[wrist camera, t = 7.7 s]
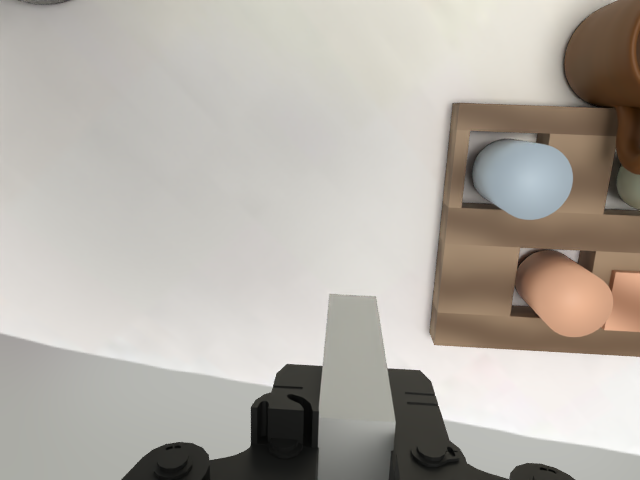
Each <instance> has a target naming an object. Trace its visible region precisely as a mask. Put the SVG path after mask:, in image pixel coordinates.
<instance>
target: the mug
mask: <svg viewBox="0 0 640 480" xmlns="http://www.w3.org/2000/svg"><path fill="white" fill-rule="evenodd" d="M565 73H566V77H567V80H568V82H569V85H570V86H571V88H572V90H573V91H574V92H575V93H576V94H577V95H578V96H579V97H580V98H581V99H583V100H584V101H586V102H588V103H590V104H592V105H595V106H599V107H605V108H615V109H616V112H617V121H618V128H617V134H616V151H617V155H618V159H619V161H620V163H621V165H622V166H623V167H624V168H625V169H626V170H627V171H629V172H631V173H633V174H637V175H640V0H618V1H616V2H613V3H611V4H609V5H606V6H604V7H602V8H600V9H599V10H597V11H595V12H594V13H592V14H591V15H590V16H588V17H587V18H586V19H585V20H584V21H583V22H582V23H581V24H580V25H579V26H578V28H577V29H576V30H575V32H574V33H573V35H572V37H571V39H570V41H569V43H568V46H567V49H566V53H565Z"/></svg>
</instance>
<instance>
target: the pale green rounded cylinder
mask: <svg viewBox="0 0 640 480" xmlns="http://www.w3.org/2000/svg"><path fill="white" fill-rule="evenodd" d="M617 190H618V193H619V195H620V197H621V198H622V200H623V201H624V202H625V203H626V204H628V205H629V206H631V207H633V208H636V209H639V210H640V175H637V174H633V173H631V172H629V171H627V170H626V169H625V168H624V167H623V166H622V165H621V167H620V169H619V171H618V175H617Z"/></svg>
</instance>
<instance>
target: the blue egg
mask: <svg viewBox="0 0 640 480" xmlns="http://www.w3.org/2000/svg"><path fill="white" fill-rule="evenodd" d="M472 180H473V184H474V186H475V188H476V190H477V191H478V193H479V194H480V195H481V196H482V197H484V198H485V199H486V200H488V201H490V202H491V203H493V204H494V205H496V206H498V207H499V208H501V209H502V210H504V211H506V212H507V213H509V214H510V215H512V216H514V217H517V218H520V219H525V220H535V219H540V218H544V217H546V216H548V215H550V214H552V213H554V212H555V211H556V210H558V209H559V208H560V207H561V206H562V205H563V203H564V202H565V201H566V199H567V198H568V196H569V194H570V191H571V188H572V183H573V173H572V168H571V165H570V163H569V161H568V159H567V158H566V157H565V155H564V154H563V153H562V152H560V151H559V150H558V149H556V148H554V147H552V146H549V145H545V144H539V143H533V142H527V141H520V140H514V139H502V140H498V141H495V142H493V143H491V144H489V145H487V146H486V147H485V148H484V149H483V150H482V151H481V152H480V153H479V154H478V156H477V157H476V159H475V162H474V165H473V169H472Z"/></svg>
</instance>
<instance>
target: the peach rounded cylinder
mask: <svg viewBox="0 0 640 480" xmlns="http://www.w3.org/2000/svg"><path fill="white" fill-rule="evenodd" d="M515 286H516V290H517V292H518V294H519V295H520V296H521V298H522V299H523V300H524V301H525V302H526V303H527V304H528V305H529V306H530V307H531V308H532V309H533V310H534V311H535V313H536V314H537V315H538V316H539V317H540V318H541V319H542V320H543V321H544V322H545V323H546V324H547V325H548V326H549V327H550V328H551V329H552V330H553V331H554V332H556V333H558V334H560V335H562V336H566V337H582V336H586V335H589V334H591V333H593V332H595V331H596V330H598V329H599V328H600V327H602V326H603V325H604V324H605V322H606V321H607V320H608V318H609V316H610V314H611V312H612V308H613V296H612V292H611V290H610V288H609V287H608V285H607V284H606V283H605V282H604V281H603V280H602V279H600V278H599V277H597V276H596V275H594V274H593V273H591V272H590V271H588V270H587V269H585V268H584V267H582V266H580V265H579V264H577V263H576V262H574V261H573V260H571V259H570V258H568V257H567V256H565V255H564V254H562V253H560V252H557V251H552V250H544V251H539V252H536V253H534V254H532V255H530V256H528V257H527V258H526V259H525V260H524V261H523V262H522V263H521V264H520V266H519V267H518V269H517V272H516V279H515Z"/></svg>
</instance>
